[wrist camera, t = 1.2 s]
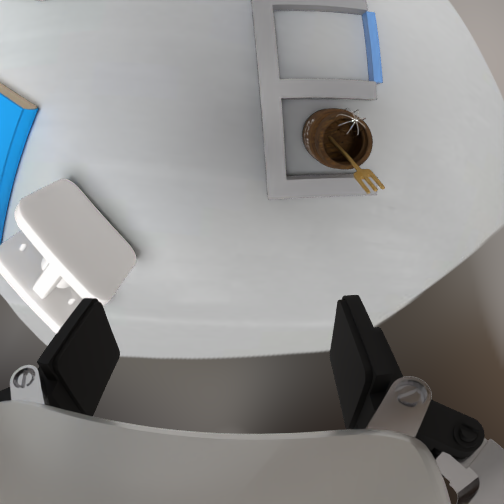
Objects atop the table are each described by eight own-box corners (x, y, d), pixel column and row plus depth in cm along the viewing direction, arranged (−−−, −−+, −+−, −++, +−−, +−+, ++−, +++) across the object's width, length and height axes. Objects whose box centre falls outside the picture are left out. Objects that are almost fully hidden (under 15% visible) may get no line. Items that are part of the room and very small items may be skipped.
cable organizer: (148, 257, 37) (113, 313, 26) (104, 297, 40) (69, 351, 29) (71, 172, 32) (12, 201, 21) (36, 223, 35) (-15, 261, 24)
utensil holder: (344, 102, 28) (390, 99, 18) (360, 156, 31) (410, 181, 20) (293, 117, 29) (314, 119, 18) (311, 171, 32) (340, 203, 21)
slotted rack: (250, -4, 23) (250, -10, 21) (367, 1, 22) (373, -4, 21) (267, 194, 33) (268, 199, 31) (378, 190, 32) (384, 195, 31)
